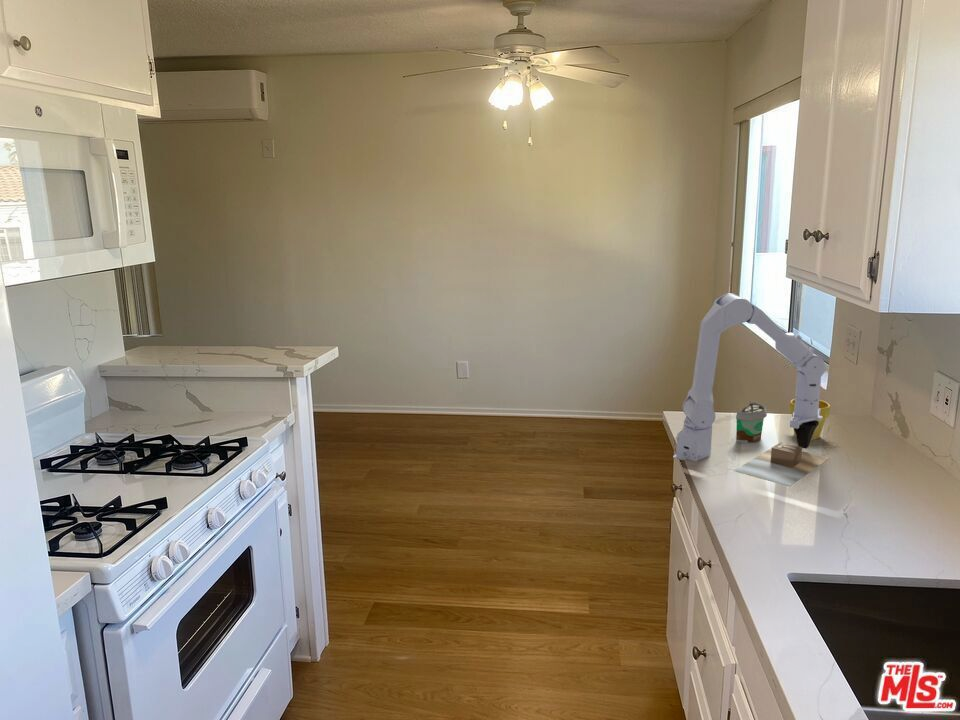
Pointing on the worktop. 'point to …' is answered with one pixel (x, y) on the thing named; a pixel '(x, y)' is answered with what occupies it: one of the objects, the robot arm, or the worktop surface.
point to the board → (780, 468)
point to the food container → (750, 423)
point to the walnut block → (786, 454)
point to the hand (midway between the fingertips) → (803, 447)
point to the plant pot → (824, 413)
